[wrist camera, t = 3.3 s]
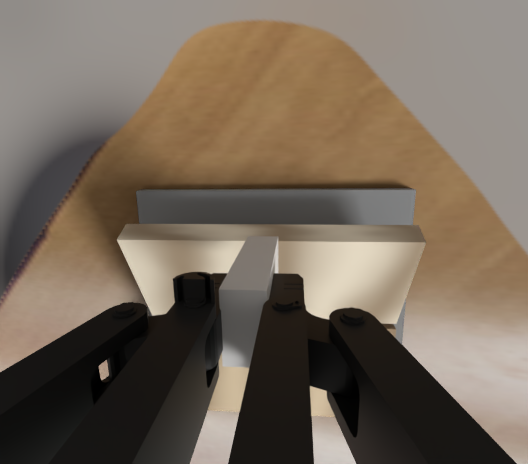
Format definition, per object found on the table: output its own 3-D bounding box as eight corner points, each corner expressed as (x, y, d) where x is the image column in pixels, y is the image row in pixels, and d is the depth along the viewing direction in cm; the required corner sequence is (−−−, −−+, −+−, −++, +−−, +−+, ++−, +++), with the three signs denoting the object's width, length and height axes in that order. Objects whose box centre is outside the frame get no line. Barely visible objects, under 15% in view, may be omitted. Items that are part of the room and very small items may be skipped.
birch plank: (158, 300, 27) (153, 316, 26) (126, 223, 21) (116, 239, 20) (391, 306, 25) (396, 323, 24) (418, 225, 20) (426, 242, 19)
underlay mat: (162, 395, 30) (158, 404, 29) (141, 189, 26) (135, 191, 25) (391, 407, 28) (395, 416, 27) (411, 188, 24) (415, 189, 23)
